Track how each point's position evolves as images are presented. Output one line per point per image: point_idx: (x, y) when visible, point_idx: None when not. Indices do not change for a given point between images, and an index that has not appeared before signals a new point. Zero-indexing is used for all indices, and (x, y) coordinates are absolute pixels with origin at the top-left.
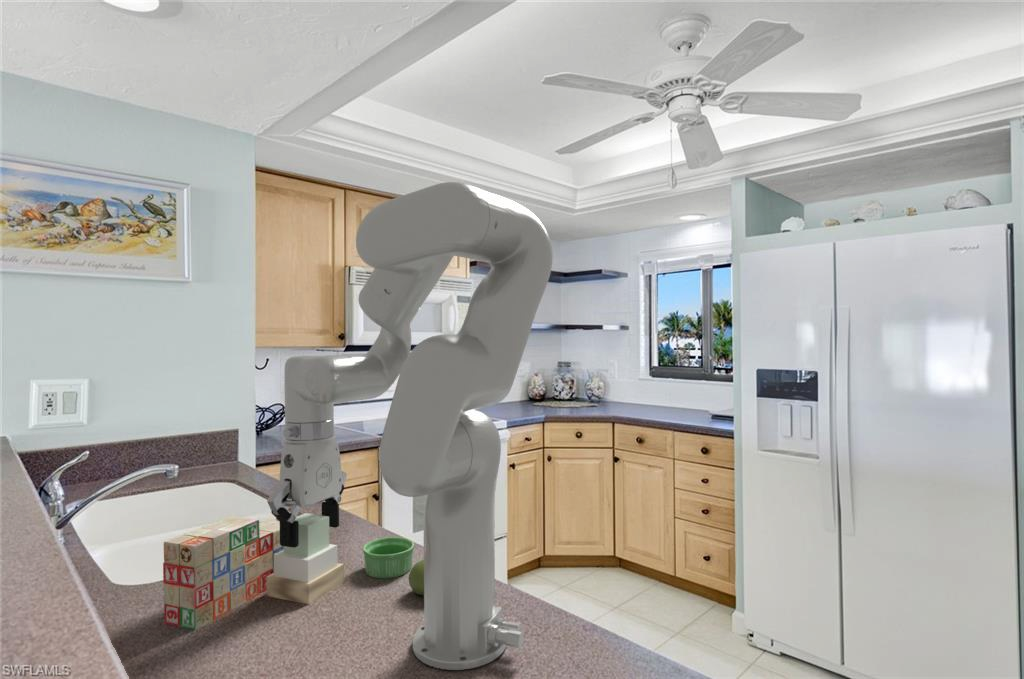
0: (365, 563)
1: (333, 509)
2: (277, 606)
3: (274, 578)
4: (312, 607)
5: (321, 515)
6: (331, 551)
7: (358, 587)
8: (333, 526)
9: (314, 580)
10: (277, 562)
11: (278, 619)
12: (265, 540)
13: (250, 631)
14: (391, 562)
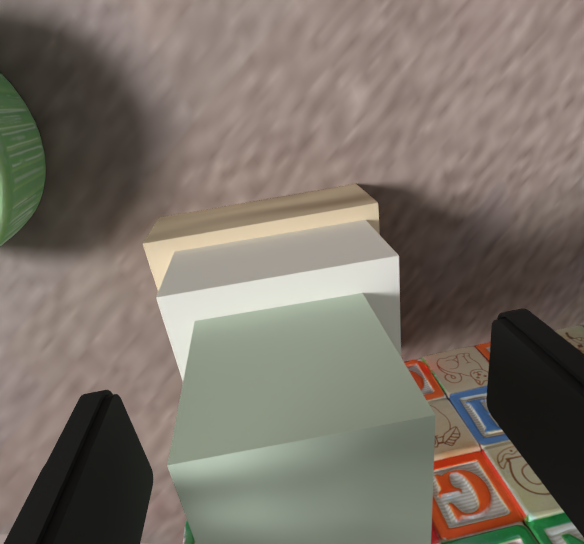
0: (22, 217)
1: (76, 532)
2: (407, 261)
3: None
4: (367, 153)
5: (189, 521)
6: (210, 280)
7: (152, 126)
8: (123, 407)
9: (337, 214)
10: None
11: (474, 184)
12: None
13: (557, 195)
14: None
